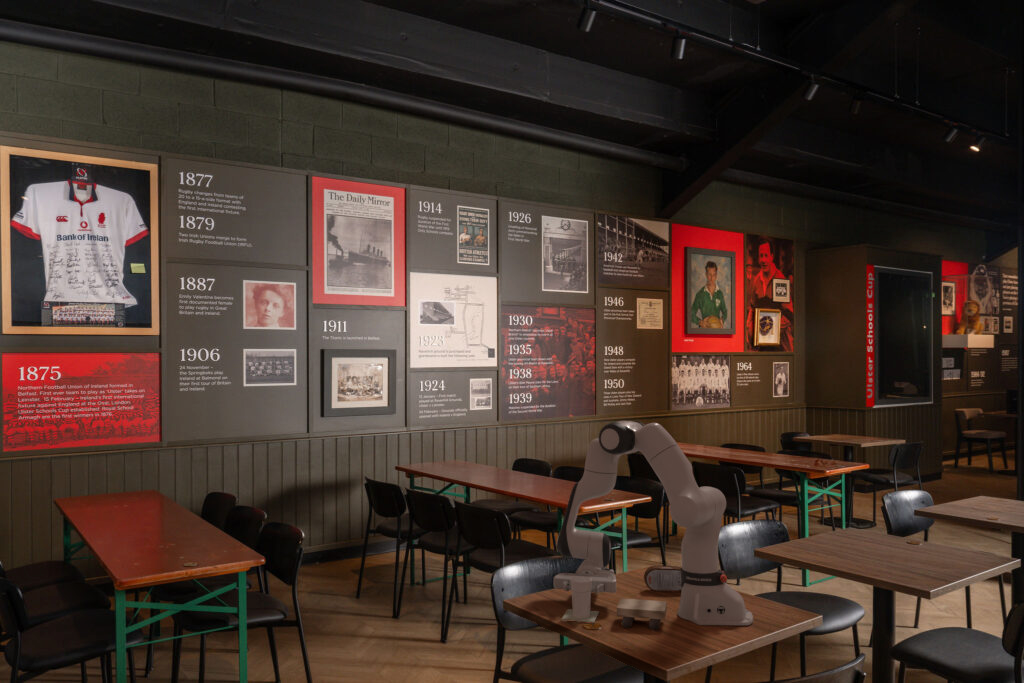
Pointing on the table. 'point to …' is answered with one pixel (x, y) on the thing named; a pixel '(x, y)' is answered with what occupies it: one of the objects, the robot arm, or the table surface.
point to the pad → (591, 618)
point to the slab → (642, 611)
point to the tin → (663, 578)
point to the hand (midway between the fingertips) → (581, 589)
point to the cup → (581, 596)
